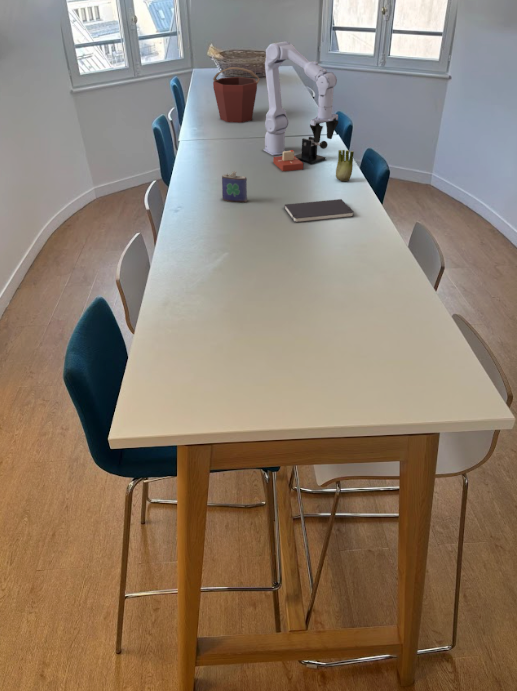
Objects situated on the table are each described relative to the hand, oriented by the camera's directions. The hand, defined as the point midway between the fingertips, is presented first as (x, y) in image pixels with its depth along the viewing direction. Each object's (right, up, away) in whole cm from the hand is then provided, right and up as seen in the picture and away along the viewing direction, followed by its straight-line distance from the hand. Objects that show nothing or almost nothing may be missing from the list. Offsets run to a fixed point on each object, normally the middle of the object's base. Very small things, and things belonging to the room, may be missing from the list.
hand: (323, 140), depth 238 cm
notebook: (-6, -39, -39) cm, 55 cm away
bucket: (-39, +35, +67) cm, 85 cm away
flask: (-36, -33, -29) cm, 57 cm away
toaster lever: (-2, -2, +4) cm, 5 cm away
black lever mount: (-5, -5, +10) cm, 12 cm away
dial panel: (-15, -10, +3) cm, 18 cm away
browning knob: (-15, -8, +1) cm, 16 cm away
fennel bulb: (+6, -20, -12) cm, 25 cm away
